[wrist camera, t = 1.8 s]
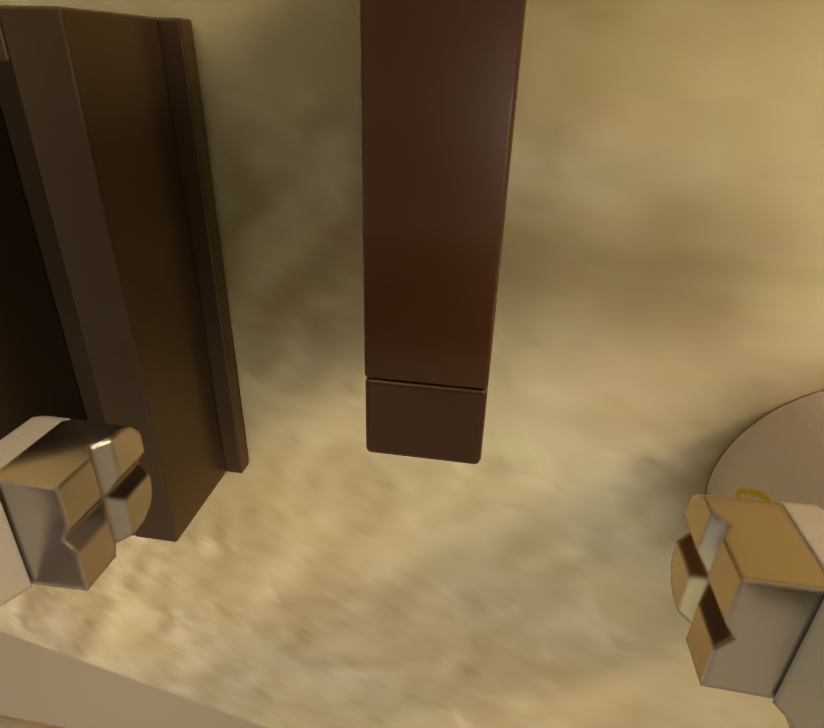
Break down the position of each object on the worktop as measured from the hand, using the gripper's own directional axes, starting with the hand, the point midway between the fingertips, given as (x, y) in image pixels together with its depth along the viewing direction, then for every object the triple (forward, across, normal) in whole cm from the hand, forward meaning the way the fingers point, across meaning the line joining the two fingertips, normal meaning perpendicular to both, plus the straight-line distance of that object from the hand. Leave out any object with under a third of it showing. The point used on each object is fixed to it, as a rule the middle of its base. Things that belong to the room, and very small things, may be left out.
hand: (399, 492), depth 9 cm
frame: (+9, 0, -5) cm, 10 cm away
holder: (+10, +11, 0) cm, 14 cm away
